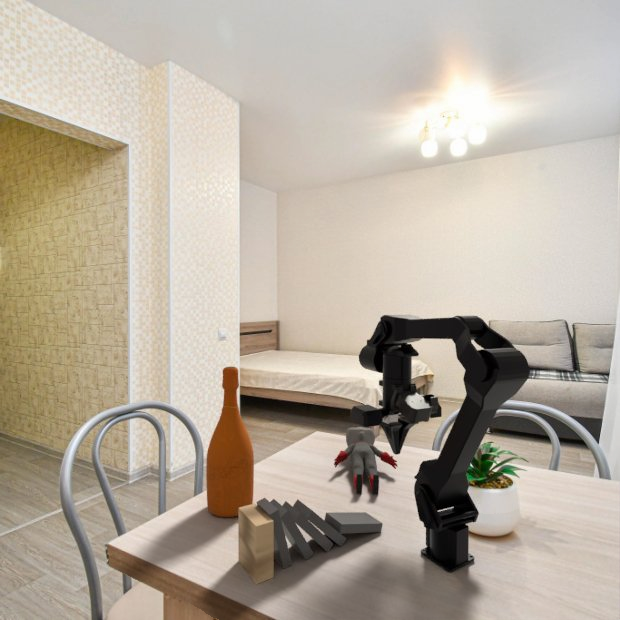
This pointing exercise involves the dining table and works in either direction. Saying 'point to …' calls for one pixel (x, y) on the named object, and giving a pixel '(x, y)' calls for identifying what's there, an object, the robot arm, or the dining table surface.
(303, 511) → the tile
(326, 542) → the tile
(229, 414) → the wine bottle
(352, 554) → the dining table surface
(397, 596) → the dining table surface
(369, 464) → the toy
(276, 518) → the tile
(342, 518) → the tile
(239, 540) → the end block
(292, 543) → the tile
